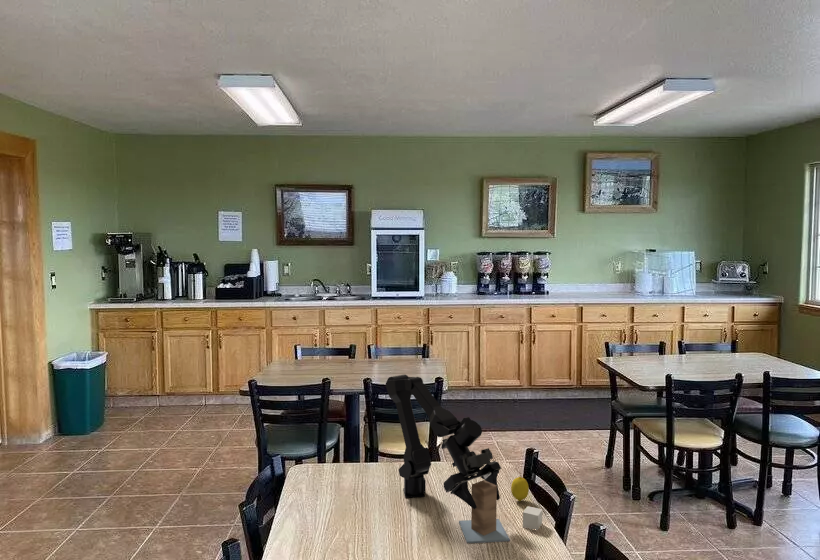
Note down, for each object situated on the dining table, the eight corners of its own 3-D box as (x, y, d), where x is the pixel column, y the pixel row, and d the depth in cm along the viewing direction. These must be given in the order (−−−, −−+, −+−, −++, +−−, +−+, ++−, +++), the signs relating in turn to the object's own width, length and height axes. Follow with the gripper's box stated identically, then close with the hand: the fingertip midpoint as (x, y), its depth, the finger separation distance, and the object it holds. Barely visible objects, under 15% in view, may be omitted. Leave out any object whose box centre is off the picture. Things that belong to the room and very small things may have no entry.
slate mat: (467, 543, 157) (467, 541, 157) (458, 522, 169) (458, 520, 169) (509, 541, 159) (509, 539, 159) (498, 520, 171) (498, 518, 171)
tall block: (471, 528, 165) (471, 484, 164) (483, 523, 168) (484, 479, 167) (483, 535, 161) (484, 490, 160) (496, 530, 164) (496, 485, 163)
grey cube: (522, 527, 167) (522, 512, 166) (527, 520, 171) (527, 506, 170) (537, 531, 165) (538, 515, 164) (542, 524, 168) (542, 509, 168)
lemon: (528, 505, 180) (528, 480, 180) (510, 504, 181) (510, 479, 181) (528, 498, 186) (528, 474, 185) (511, 496, 187) (511, 472, 186)
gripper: (450, 447, 160) (478, 500, 152) (497, 434, 171) (525, 482, 163) (432, 466, 167) (457, 518, 159) (478, 452, 178) (504, 499, 170)
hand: (487, 503), depth 162 cm, fingers open, 9 cm apart
